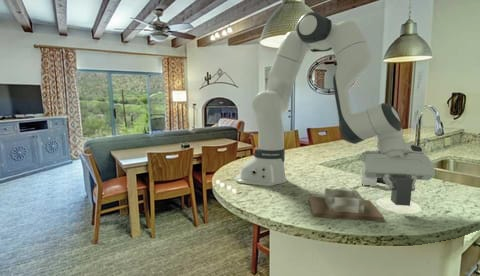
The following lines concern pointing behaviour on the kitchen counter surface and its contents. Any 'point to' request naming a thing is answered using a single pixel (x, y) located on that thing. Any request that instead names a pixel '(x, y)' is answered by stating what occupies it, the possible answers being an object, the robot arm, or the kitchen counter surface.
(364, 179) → the white wedge bracket
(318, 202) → the socket block
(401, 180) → the black plug
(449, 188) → the kitchen counter surface
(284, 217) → the kitchen counter surface
